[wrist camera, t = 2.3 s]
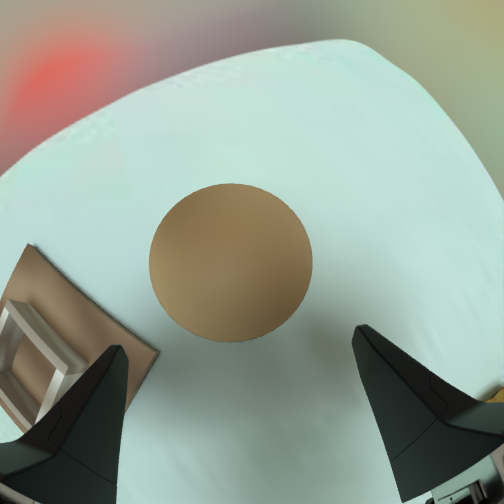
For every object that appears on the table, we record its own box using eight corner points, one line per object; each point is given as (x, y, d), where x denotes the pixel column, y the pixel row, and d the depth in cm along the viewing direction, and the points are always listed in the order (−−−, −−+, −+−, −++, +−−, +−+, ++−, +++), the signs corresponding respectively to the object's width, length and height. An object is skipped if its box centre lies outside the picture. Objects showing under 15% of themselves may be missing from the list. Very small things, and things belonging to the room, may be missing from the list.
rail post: (248, 346, 19) (261, 373, 7) (194, 315, 19) (120, 284, 7) (278, 293, 20) (337, 230, 8) (225, 263, 21) (205, 161, 8)
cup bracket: (87, 483, 14) (66, 500, 10) (-17, 371, 16) (-42, 371, 12) (159, 352, 19) (140, 356, 15) (33, 246, 20) (8, 232, 16)
